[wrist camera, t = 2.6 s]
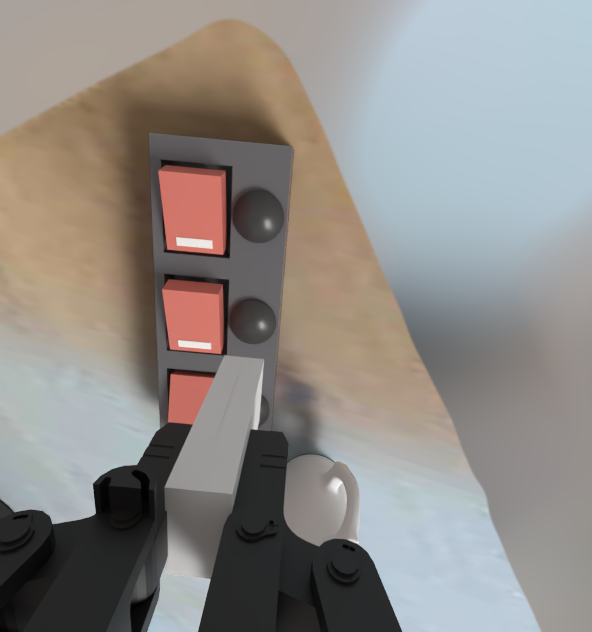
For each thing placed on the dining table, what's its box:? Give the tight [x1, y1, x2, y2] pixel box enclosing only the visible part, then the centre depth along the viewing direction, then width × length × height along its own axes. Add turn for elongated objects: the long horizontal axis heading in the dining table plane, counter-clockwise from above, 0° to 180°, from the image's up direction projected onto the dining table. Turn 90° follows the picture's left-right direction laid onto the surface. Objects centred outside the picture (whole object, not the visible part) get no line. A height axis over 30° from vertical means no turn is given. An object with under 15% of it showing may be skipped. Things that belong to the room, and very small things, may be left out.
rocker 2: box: [162, 279, 224, 354], centre depth 28 cm, size 4×5×2 cm
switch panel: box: [149, 133, 294, 431], centre depth 33 cm, size 9×36×5 cm, turn 175°
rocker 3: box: [168, 370, 216, 424], centre depth 31 cm, size 4×5×2 cm
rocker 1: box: [158, 165, 227, 255], centre depth 26 cm, size 4×5×2 cm
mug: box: [284, 455, 360, 546], centre depth 33 cm, size 10×7×12 cm, turn 149°
